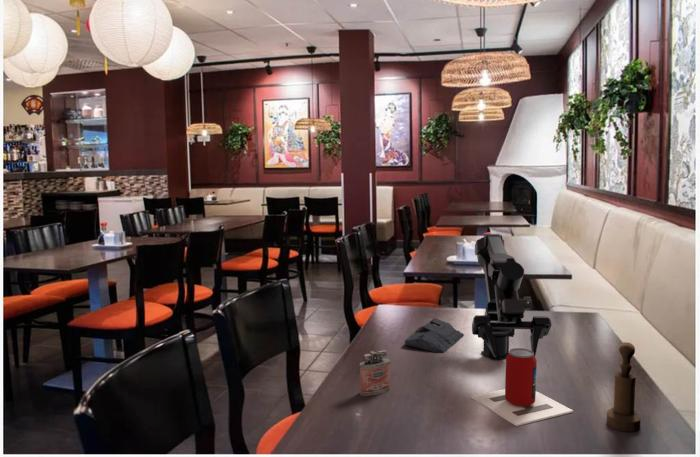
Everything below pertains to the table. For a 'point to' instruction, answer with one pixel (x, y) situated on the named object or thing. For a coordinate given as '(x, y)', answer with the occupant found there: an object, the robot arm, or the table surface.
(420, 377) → the table surface
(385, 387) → the lighter
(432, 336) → the dark slate chunk
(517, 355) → the beverage can
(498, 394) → the letter mat
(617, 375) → the brown knobbed pedestal
